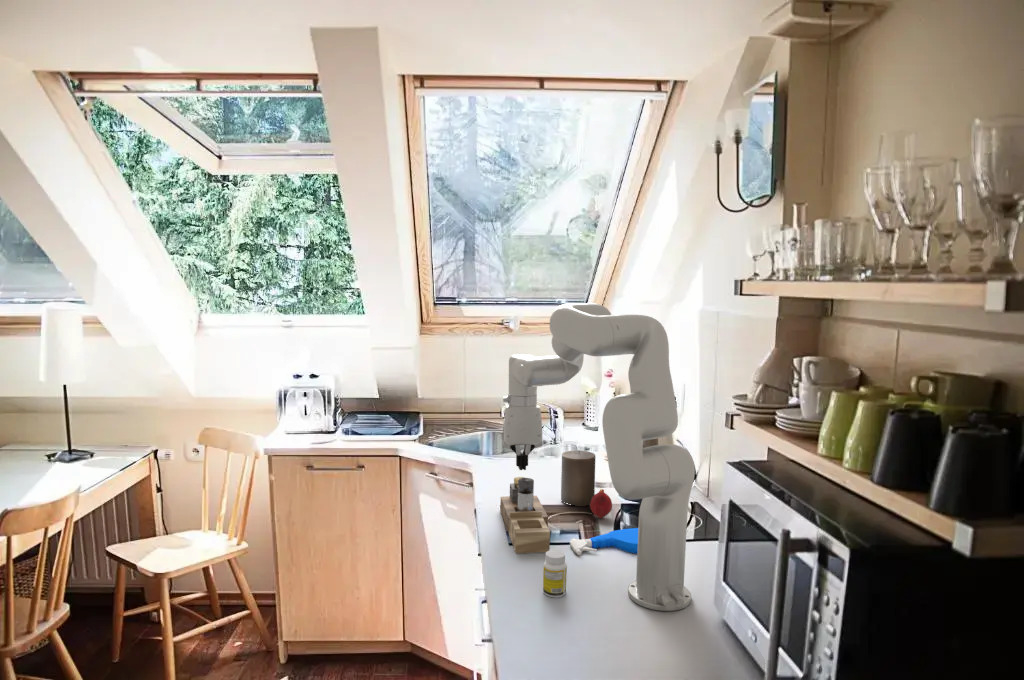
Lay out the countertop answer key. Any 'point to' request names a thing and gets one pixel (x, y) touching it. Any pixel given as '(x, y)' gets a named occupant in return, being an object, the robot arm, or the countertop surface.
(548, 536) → the frame
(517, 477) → the round brass peg
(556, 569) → the supplement bottle
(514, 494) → the socket block
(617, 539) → the spray bottle
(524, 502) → the capped metal cylinder
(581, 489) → the pillar candle
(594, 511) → the onion
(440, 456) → the countertop surface
